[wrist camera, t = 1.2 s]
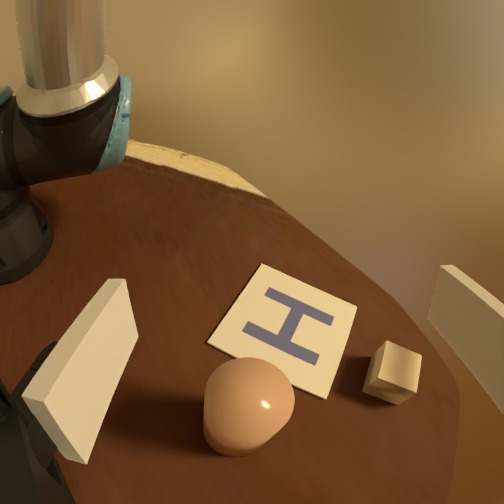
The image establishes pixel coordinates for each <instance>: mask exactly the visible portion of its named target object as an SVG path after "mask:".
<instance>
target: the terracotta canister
mask: <svg viewBox="0 0 504 504" xmlns="http://www.w3.org/2000/svg"><path fill="white" fill-rule="evenodd" d="M294 401H295V399H294V391H293V388H292V385H291V383H290V381H289V379H288V378H287V376H286V375H285V374H284V373H283V372H282V371H281V370H280V369H279V368H278V367H276V366H275V365H273V364H271V363H270V362H267V361H265V360H262V359H258V358H252V357H242V358H236V359H233V360H230V361H227V362H225V363H224V364H222V365H221V366H219V367H218V368H217V369H216V370H215V371H214V372H213V373H212V375H211V376H210V378H209V380H208V382H207V384H206V388H205V398H204V416H203V433H204V437H205V439H206V441H207V443H208V444H209V445H210V447H211V448H212V449H214V450H215V451H216V452H218V453H220V454H222V455H224V456H228V457H243V456H247V455H249V454H251V453H253V452H255V451H256V450H257V449H258V448H259V447H261V446H262V445H263V444H264V443H265V442H266V441H268V440H269V439H270V438H271V437H272V436H273V435H274V434H275V433H276V432H278V431H279V430H280V429H281V428H282V427H283V426H284V425H285V424H286V423H287V421H288V420H289V418H290V416H291V414H292V412H293V408H294Z"/></svg>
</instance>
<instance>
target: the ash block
mask: <svg viewBox="0 0 504 504" xmlns="http://www.w3.org/2000/svg"><path fill="white" fill-rule="evenodd" d="M421 358H422V355H419V354H417V353H415V352H412V351H410V350H408V349H405V348H403V347H401V346H398V345H396V344H394V343H391V342H389V341H386V342H385V343H384V344H383V345H382V346H381V347H380V348H379V349H378V350H377V351H376V352H375V353H374V354H373V356H372V357H371V360H370V364H369V368H368V371H367V375H366V379H365V382H364V386H363V389H362V392H364V393H367V394H369V395H372V396H374V397H377V398H380V399H382V400H385V401H388V402H390V403H393V404H396V405H399V404H400V403H402V402H403V401H405V400H406V399H408V398H409V397H411V396H412V395H414V394H415V393H416V392H417V386H418V380H419V373H420V366H421Z"/></svg>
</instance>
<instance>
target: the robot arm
mask: <svg viewBox="0 0 504 504" xmlns="http://www.w3.org/2000/svg"><path fill="white" fill-rule="evenodd" d="M106 7H107V0H15V10H16V21H17V30H18V38H19V44H20V51H21V57H22V63H23V68H24V73H25V78H24V80H23V81H22V83H21V84H20V86H19V88H18V90H17V94H16V96H12V94H13V91H12V90H11V87H10V86H4V87H1V88H0V285H1V284H7V283H10V282H13V281H16V280H18V279H20V278H22V277H24V276H25V275H27V274H28V273H30V272H31V271H32V270H33V269H35V268H36V267H37V266H38V265H39V264H40V263H41V262H42V260H43V259H44V258H45V257H46V255H47V254H48V252H49V250H50V248H51V246H52V243H53V237H54V232H53V228H52V225H51V222H50V218H49V216H48V214H47V213H46V212H45V210H44V209H43V207H42V206H41V205H40V203H39V202H38V201H37V199H36V198H35V196H34V195H33V194H32V192H31V191H30V188H29V185H32V184H37V183H42V182H47V181H52V180H57V179H63V178H69V177H74V176H80V175H87V174H95V173H97V172H98V171H103V170H107V169H112V168H115V167H117V166H118V165H119V164H120V163H121V162H122V161H123V159H124V156H125V153H126V149H127V142H128V134H129V116H130V109H131V81H130V79H129V77H128V76H125V75H120V74H119V69H118V66H117V64H116V62H115V61H114V60H113V59H112V58H110V57H109V56H107V55H105V23H106ZM427 320H428V321H429V322H430V323H431V325H432V326H433V327H434V328H435V329H436V330H437V331H438V332H439V334H440V335H441V336H442V337H443V338H444V340H445V341H446V342H447V343H448V344H449V346H450V347H451V348H452V349H453V350H454V351H455V353H456V354H457V355H458V356H459V358H460V359H461V360H462V361H463V363H464V364H465V365H466V366H467V368H468V369H469V370H470V371H471V373H472V374H473V375H474V376H475V378H476V379H477V380H478V382H479V383H480V384H481V385H482V387H483V388H484V389H485V391H486V392H487V393H488V395H489V396H490V397H491V399H492V400H493V401H494V403H495V404H496V406H497V407H498V408H499V410H500V411H501V412H502V414H503V415H504V305H503V304H502V303H501V302H500V301H499V300H498V299H496V298H495V297H494V296H493V295H491V294H490V293H489V292H487V291H486V290H485V289H484V288H482V287H481V286H480V285H478V284H477V283H476V282H475V281H473V280H472V279H471V278H469V277H468V276H467V275H465V274H464V273H463V272H461V271H460V270H459V269H457V268H456V267H454V266H453V265H443V266H440V267H439V272H438V277H437V281H436V286H435V290H434V294H433V298H432V302H431V306H430V310H429V314H428V318H427ZM137 339H138V333H137V329H136V325H135V321H134V317H133V312H132V308H131V304H130V299H129V294H128V290H127V285H126V280H125V279H108V280H107V281H106V282H105V283H104V285H103V286H102V287H101V288H100V289H99V291H98V292H97V293H96V294H95V296H94V297H93V298H92V299H91V301H90V302H89V303H88V304H87V306H86V307H85V308H84V309H83V311H82V312H81V313H80V314H79V316H78V317H77V318H76V320H75V321H74V322H73V323H72V325H71V326H70V327H69V329H68V330H67V331H66V333H65V334H64V335H63V337H62V338H61V339H60V341H59V342H53V343H51V344H50V345H49V346H47V347H46V348H44V349H43V350H42V351H41V353H40V354H39V355H38V357H37V358H36V359H35V362H33V364H32V365H31V366H30V370H27V372H26V373H25V375H24V376H23V377H22V379H21V380H20V382H19V383H18V385H17V386H16V388H15V389H14V391H13V392H12V393H11V395H9V393H8V391H7V390H6V388H5V386H4V384H3V383H2V381H1V379H0V504H76V503H75V501H74V499H73V497H72V495H71V493H70V490H69V488H68V486H67V484H66V481H65V479H64V477H63V474H62V472H61V469H60V467H59V464H58V462H57V460H56V459H55V457H54V454H55V451H56V449H58V450H59V451H60V452H61V454H62V455H63V456H64V457H65V459H68V460H72V461H76V462H79V463H83V464H87V462H88V460H89V457H90V454H91V451H92V448H93V446H94V443H95V440H96V438H97V435H98V432H99V430H100V427H101V424H102V422H103V419H104V417H105V414H106V412H107V409H108V407H109V404H110V402H111V399H112V397H113V394H114V392H115V389H116V387H117V385H118V382H119V380H120V377H121V375H122V373H123V370H124V368H125V366H126V363H127V361H128V359H129V357H130V354H131V352H132V350H133V348H134V345H135V343H136V341H137Z"/></svg>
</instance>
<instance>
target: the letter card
mask: <svg viewBox="0 0 504 504" xmlns="http://www.w3.org/2000/svg"><path fill="white" fill-rule="evenodd" d="M356 309H357V307H356V306H354V305H352V304H350V303H348V302H345V301H343V300H341V299H339V298H336V297H334V296H332V295H330V294H328V293H325V292H323V291H321V290H319V289H317V288H314V287H312V286H310V285H308V284H306V283H304V282H301V281H299V280H297V279H295V278H293V277H290V276H288V275H286V274H284V273H282V272H279V271H277V270H275V269H273V268H271V267H269V266H266V265H264V264H261V266H260V267H259V269H258V270H257V271H256V273H255V274H254V276H253V277H252V279H251V280H250V282H249V283H248V284H247V286H246V287H245V289H244V290H243V292H242V293H241V294H240V296H239V297H238V299H237V300H236V302H235V303H234V305H233V306H232V307H231V309H230V310H229V312H228V313H227V315H226V316H225V317H224V319H223V320H222V322H221V323H220V325H219V326H218V327H217V329H216V330H215V332H214V333H213V334H212V336H211V337H210V339H209V340H208V342H207V343H208V344H210V345H212V346H213V347H215V348H217V349H219V350H221V351H223V352H225V353H227V354H229V355H230V356H232V357H234V358H242V357H252V358H258V359H262V360H265V361H267V362H270V363H271V364H273V365H275V366H276V367H278V368H279V369H280V370H281V371H282V372H283V373H284V374H285V375H286V376H287V378H288V379H289V381H290V383H291V385H292V386H294V387H297V388H299V389H301V390H303V391H306V392H308V393H310V394H313V395H315V396H317V397H320V398H322V399H324V400H326V398H327V396H328V393H329V391H330V388H331V385H332V383H333V380H334V377H335V374H336V371H337V369H338V366H339V363H340V360H341V357H342V354H343V351H344V348H345V345H346V342H347V339H348V336H349V333H350V329H351V326H352V323H353V320H354V316H355V313H356Z"/></svg>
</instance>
